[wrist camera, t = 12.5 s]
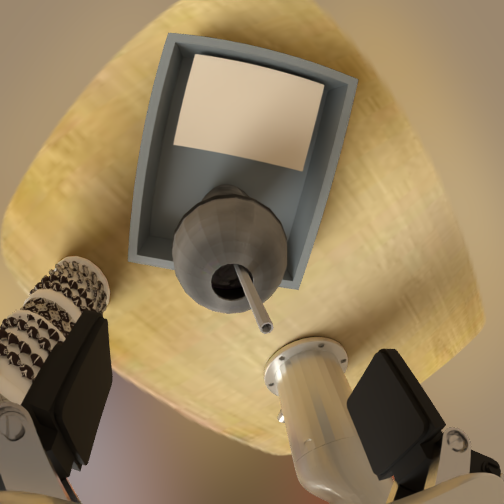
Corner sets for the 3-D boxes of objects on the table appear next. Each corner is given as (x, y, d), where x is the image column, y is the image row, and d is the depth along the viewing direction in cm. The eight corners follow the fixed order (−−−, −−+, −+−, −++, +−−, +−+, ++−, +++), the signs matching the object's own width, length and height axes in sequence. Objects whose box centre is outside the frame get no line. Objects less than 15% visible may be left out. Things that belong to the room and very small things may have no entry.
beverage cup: (175, 195, 28) (101, 315, 9) (239, 156, 27) (280, 207, 9) (214, 253, 30) (213, 419, 12) (275, 218, 30) (356, 354, 11)
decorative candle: (46, 296, 32) (-47, 440, 9) (58, 239, 29) (-79, 388, 6) (102, 327, 34) (39, 496, 11) (122, 274, 31) (30, 472, 9)
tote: (285, 262, 33) (298, 289, 27) (143, 237, 30) (127, 261, 25) (333, 87, 26) (358, 79, 20) (178, 51, 23) (168, 32, 17)
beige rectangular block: (291, 166, 28) (302, 171, 24) (180, 142, 26) (173, 144, 22) (310, 90, 25) (324, 85, 21) (198, 64, 23) (195, 53, 19)
